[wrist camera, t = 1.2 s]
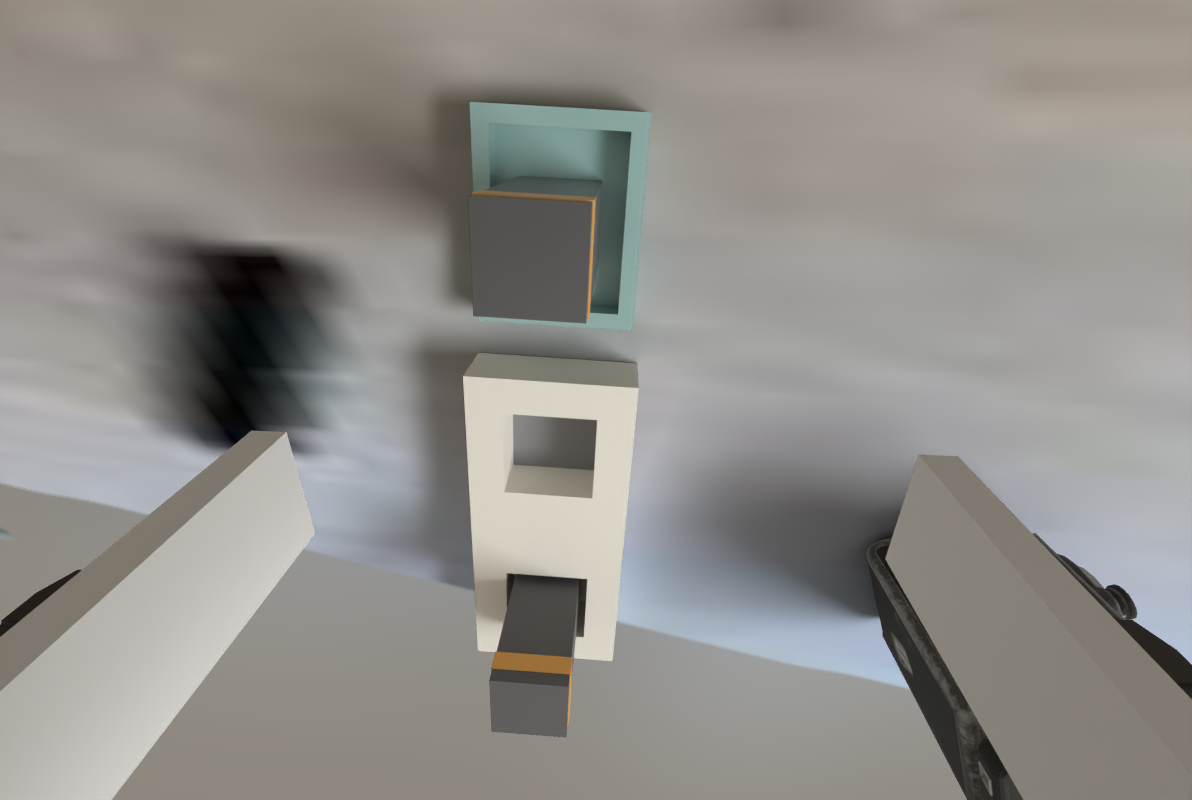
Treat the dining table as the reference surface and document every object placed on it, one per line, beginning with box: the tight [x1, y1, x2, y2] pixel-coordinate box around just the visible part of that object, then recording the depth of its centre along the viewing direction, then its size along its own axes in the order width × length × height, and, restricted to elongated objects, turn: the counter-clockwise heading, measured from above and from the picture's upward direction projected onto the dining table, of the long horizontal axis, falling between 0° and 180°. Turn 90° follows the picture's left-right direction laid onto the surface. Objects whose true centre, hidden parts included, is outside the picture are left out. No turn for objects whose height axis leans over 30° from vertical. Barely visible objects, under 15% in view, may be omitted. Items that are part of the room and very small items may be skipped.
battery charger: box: [463, 353, 639, 737], centre depth 31 cm, size 20×9×10 cm, turn 177°
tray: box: [470, 102, 651, 331], centre depth 27 cm, size 10×8×2 cm
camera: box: [866, 533, 1137, 800], centre depth 30 cm, size 10×10×15 cm
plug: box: [468, 176, 603, 324], centre depth 23 cm, size 4×4×10 cm
